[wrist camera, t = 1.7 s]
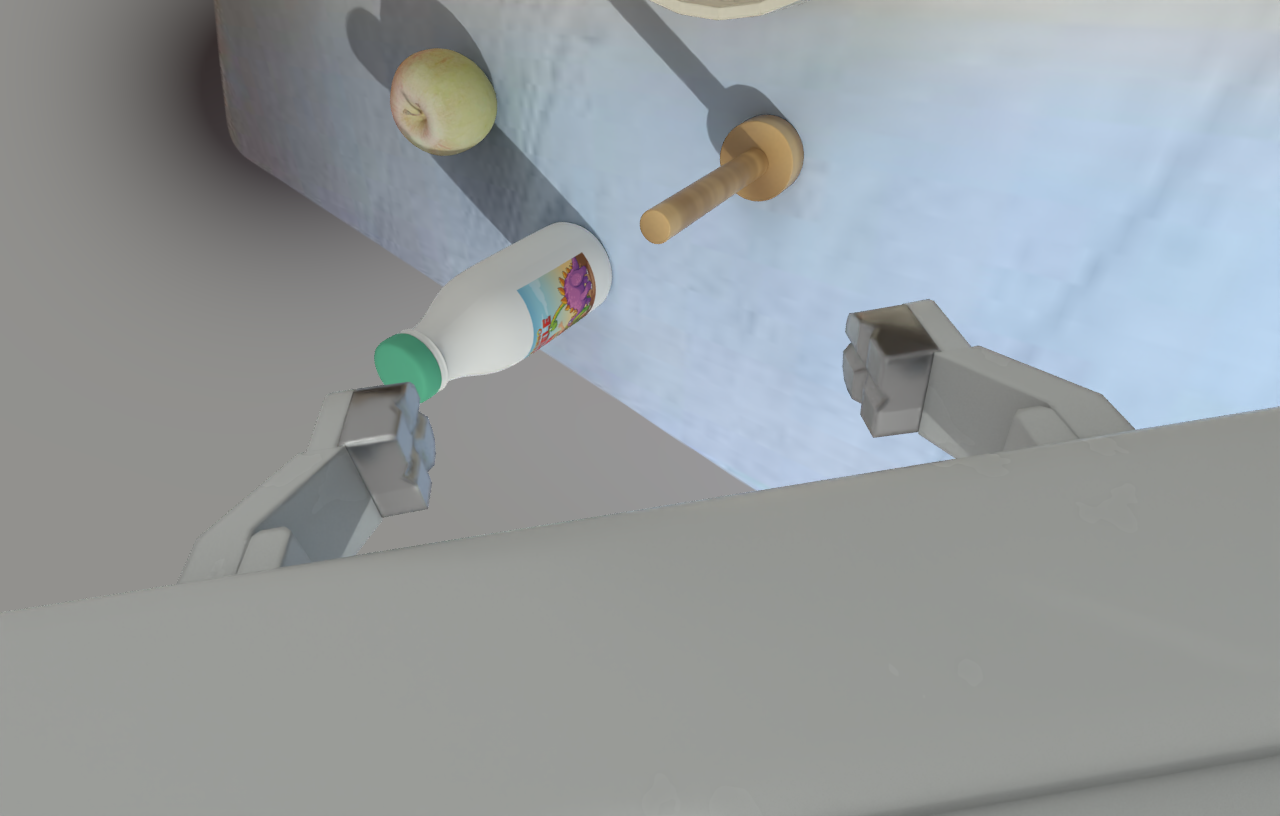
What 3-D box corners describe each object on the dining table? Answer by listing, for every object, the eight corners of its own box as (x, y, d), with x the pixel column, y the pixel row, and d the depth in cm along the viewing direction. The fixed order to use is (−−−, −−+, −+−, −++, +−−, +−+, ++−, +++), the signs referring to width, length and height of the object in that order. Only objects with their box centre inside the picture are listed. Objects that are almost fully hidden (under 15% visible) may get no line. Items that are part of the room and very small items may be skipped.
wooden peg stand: (770, 96, 45) (652, 156, 35) (819, 160, 46) (717, 237, 35) (718, 149, 49) (596, 217, 38) (764, 207, 49) (656, 291, 39)
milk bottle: (528, 270, 64) (347, 375, 49) (555, 200, 58) (361, 295, 44) (595, 325, 63) (430, 448, 49) (629, 258, 57) (455, 375, 43)
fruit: (481, 23, 54) (400, 37, 48) (527, 121, 56) (455, 145, 50) (423, 69, 58) (344, 87, 53) (467, 157, 61) (396, 183, 55)
